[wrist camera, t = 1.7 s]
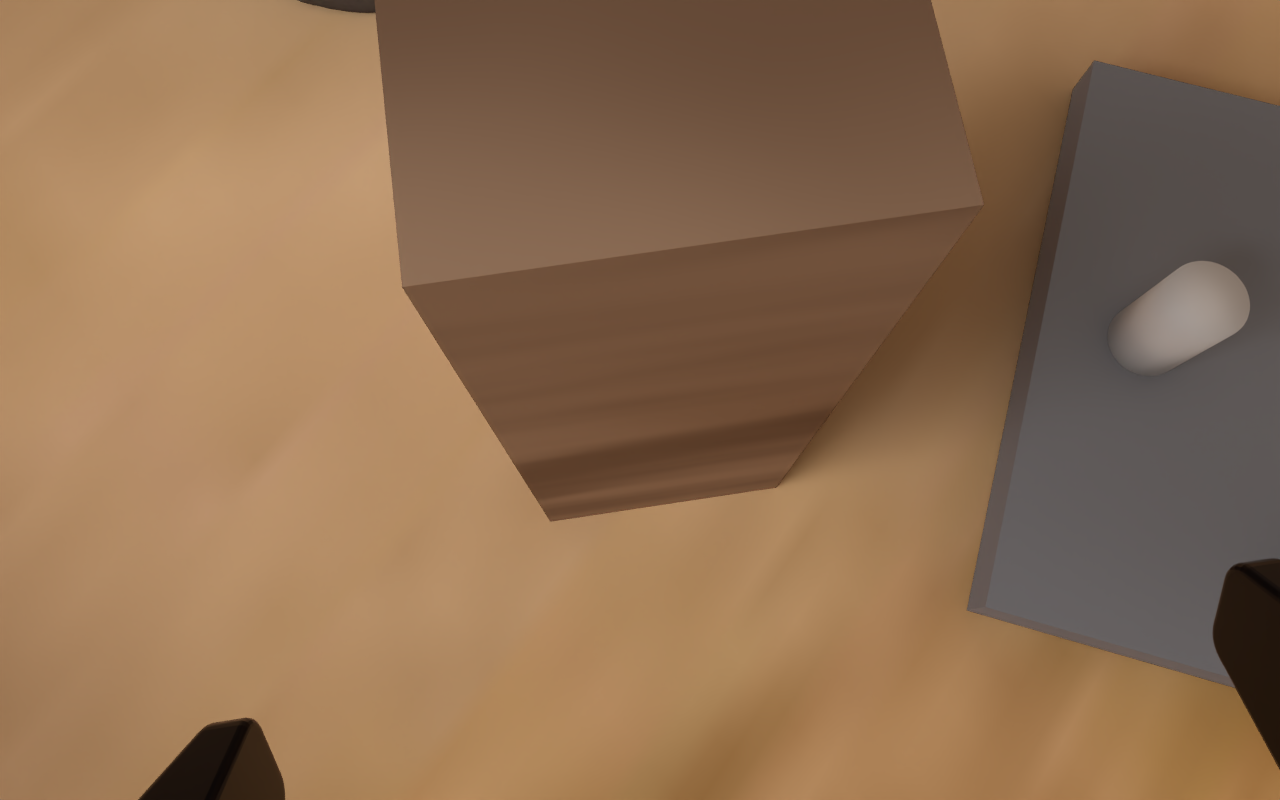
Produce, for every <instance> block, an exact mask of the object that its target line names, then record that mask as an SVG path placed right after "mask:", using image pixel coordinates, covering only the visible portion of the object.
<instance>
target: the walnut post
mask: <svg viewBox="0 0 1280 800" xmlns="http://www.w3.org/2000/svg"><path fill="white" fill-rule="evenodd" d="M375 10H376V21H377V31H378V42H379V52H380V62H381V73H382V83H383V93H384V104H385V114H386V124H387V135H388V145H389V155H390V166H391V176H392V186H393V197H394V207H395V218H396V228H397V238H398V249H399V259H400V269H401V280H402V288H403V289H404V291H405V292H406V294H407V296H408V297H409V299H410V300H411V302H412V303H413V305H414V307H415V308H416V310H417V311H418V313H419V314H420V316H421V318H422V319H423V321H424V322H425V324H426V326H427V327H428V329H429V330H430V332H431V333H432V335H433V337H434V338H435V340H436V341H437V343H438V345H439V346H440V348H441V349H442V351H443V352H444V354H445V356H446V357H447V359H448V360H449V362H450V364H451V365H452V367H453V368H454V370H455V371H456V373H457V375H458V376H459V378H460V379H461V381H462V382H463V384H464V386H465V387H466V389H467V390H468V392H469V394H470V395H471V397H472V398H473V400H474V401H475V403H476V405H477V406H478V408H479V409H480V411H481V413H482V414H483V416H484V417H485V419H486V420H487V422H488V424H489V425H490V427H491V428H492V430H493V432H494V433H495V435H496V436H497V438H498V439H499V441H500V443H501V444H502V446H503V447H504V449H505V450H506V452H507V454H508V455H509V457H510V458H511V460H512V462H513V463H514V465H515V466H516V468H517V469H518V471H519V473H520V474H521V476H522V477H523V479H524V481H525V482H526V484H527V485H528V487H529V488H530V490H531V492H532V493H533V495H534V496H535V498H536V500H537V501H538V503H539V504H540V506H541V507H542V509H543V511H544V512H545V514H546V515H547V517H548V518H549V520H550V521H557V520H564V519H570V518H577V517H583V516H590V515H597V514H603V513H610V512H617V511H623V510H630V509H636V508H643V507H650V506H656V505H663V504H670V503H676V502H683V501H690V500H696V499H703V498H709V497H716V496H723V495H729V494H736V493H743V492H749V491H756V490H763V489H769V488H776V487H777V485H778V484H779V483H780V481H781V480H782V479H783V477H784V476H785V475H786V473H787V472H788V471H789V469H790V468H791V466H792V465H793V464H794V462H795V461H796V460H797V458H798V457H799V456H800V454H801V453H802V452H803V450H804V449H805V447H806V446H807V445H808V443H809V442H810V441H811V439H812V438H813V437H814V435H815V434H816V432H817V431H818V430H819V428H820V427H821V426H822V424H823V423H824V422H825V420H826V419H827V418H828V416H829V415H830V413H831V412H832V411H833V409H834V408H835V407H836V405H837V404H838V403H839V401H840V400H841V399H842V397H843V396H844V394H845V393H846V392H847V390H848V389H849V388H850V386H851V385H852V384H853V382H854V381H855V379H856V378H857V377H858V375H859V374H860V373H861V371H862V370H863V369H864V367H865V366H866V365H867V363H868V362H869V360H870V359H871V358H872V356H873V355H874V354H875V352H876V351H877V350H878V348H879V347H880V346H881V344H882V343H883V341H884V340H885V339H886V337H887V336H888V335H889V333H890V332H891V331H892V329H893V328H894V326H895V325H896V324H897V322H898V321H899V320H900V318H901V317H902V316H903V314H904V313H905V312H906V310H907V309H908V307H909V306H910V305H911V303H912V302H913V301H914V299H915V298H916V297H917V295H918V294H919V292H920V291H921V290H922V288H923V287H924V286H925V284H926V283H927V282H928V280H929V279H930V278H931V276H932V275H933V273H934V272H935V271H936V269H937V268H938V267H939V265H940V264H941V263H942V261H943V260H944V259H945V257H946V256H947V254H948V253H949V252H950V250H951V249H952V248H953V246H954V245H955V244H956V242H957V241H958V239H959V238H960V237H961V235H962V234H963V233H964V231H965V230H966V229H967V227H968V226H969V225H970V223H971V222H972V220H973V219H974V218H975V216H976V215H977V214H978V212H979V211H980V210H981V208H982V207H983V206H984V203H983V199H982V195H981V191H980V187H979V183H978V180H977V176H976V172H975V168H974V164H973V160H972V157H971V153H970V149H969V145H968V141H967V137H966V134H965V130H964V126H963V122H962V118H961V114H960V111H959V107H958V103H957V99H956V95H955V91H954V87H953V84H952V80H951V76H950V72H949V68H948V64H947V61H946V57H945V53H944V49H943V45H942V41H941V38H940V34H939V30H938V26H937V22H936V18H935V15H934V11H933V7H932V3H931V0H375Z"/></svg>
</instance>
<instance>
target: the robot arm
mask: <svg viewBox="0 0 1280 800" xmlns="http://www.w3.org/2000/svg"><path fill="white" fill-rule="evenodd" d="M1213 642H1214V646H1215V649H1216V652H1217V654H1218V656H1219V659H1220V660H1221V662H1222V664H1223V666H1224V668H1225V670H1226V671H1227V673H1228V675H1229V677H1230V679H1231V681H1232V683H1233V684H1234V686H1235V688H1236V690H1237V692H1238V694H1239V695H1240V697H1241V699H1242V701H1243V703H1244V705H1245V707H1246V708H1247V710H1248V712H1249V714H1250V716H1251V718H1252V719H1253V721H1254V723H1255V725H1256V727H1257V729H1258V731H1259V732H1260V734H1261V736H1262V738H1263V740H1264V742H1265V743H1266V745H1267V747H1268V749H1269V751H1270V753H1271V755H1272V756H1273V758H1274V760H1275V762H1276V764H1277V766H1278V767H1279V769H1280V559H1277V558H1268V559H1261V560H1255V561H1248V562H1242V563H1237V564H1235V565H1233V566H1232V567H1231V568H1230V569H1229V570H1228V571H1227V573H1226V575H1225V579H1224V583H1223V587H1222V591H1221V595H1220V599H1219V603H1218V607H1217V611H1216V615H1215V619H1214V624H1213ZM138 800H285V789H284V783H283V778H282V776H281V773H280V771H279V768H278V766H277V764H276V761H275V759H274V757H273V754H272V752H271V750H270V747H269V745H268V743H267V740H266V738H265V736H264V733H263V731H262V729H261V727H260V726H259V724H258V723H257V722H256V721H255V720H254V719H252V718H241V719H235V720H229V721H222V722H216V723H212V724H209V725H207V726H206V727H204V728H203V729H202V730H201V731H200V732H199V733H198V734H197V735H196V736H195V737H194V738H193V739H192V740H191V742H190V743H189V744H188V745H187V746H186V747H185V748H184V749H183V750H182V752H181V753H180V754H179V755H178V756H177V757H176V758H175V759H174V760H173V762H172V763H171V764H170V765H169V766H168V767H167V768H166V769H165V770H164V772H163V773H162V774H161V775H160V776H159V777H158V778H157V779H156V780H155V782H154V783H153V784H152V785H151V786H150V787H149V788H148V789H147V790H146V792H145V793H144V794H143V795H142V796H141V797H140V798H139V799H138Z"/></svg>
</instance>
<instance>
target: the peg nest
mask: <svg viewBox="0 0 1280 800" xmlns="http://www.w3.org/2000/svg"><path fill="white" fill-rule="evenodd" d="M1268 558H1277V559H1280V106H1277V105H1273V104H1269V103H1265V102H1261V101H1257V100H1253V99H1249V98H1245V97H1241V96H1237V95H1233V94H1229V93H1224V92H1220V91H1216V90H1212V89H1208V88H1204V87H1200V86H1196V85H1192V84H1188V83H1184V82H1180V81H1176V80H1172V79H1167V78H1163V77H1159V76H1155V75H1151V74H1147V73H1143V72H1139V71H1135V70H1131V69H1127V68H1123V67H1119V66H1115V65H1110V64H1106V63H1102V62H1098V61H1094V62H1093V63H1092V64H1091V66H1090V67H1089V68H1088V70H1087V71H1086V72H1085V74H1084V75H1083V76H1082V78H1081V79H1080V80H1079V82H1078V83H1077V84H1076V86H1075V87H1074V88H1073V92H1072V96H1071V101H1070V106H1069V111H1068V116H1067V121H1066V126H1065V131H1064V136H1063V141H1062V146H1061V151H1060V155H1059V160H1058V165H1057V170H1056V175H1055V180H1054V185H1053V190H1052V195H1051V200H1050V205H1049V209H1048V214H1047V219H1046V224H1045V229H1044V234H1043V239H1042V244H1041V249H1040V254H1039V259H1038V263H1037V268H1036V273H1035V278H1034V283H1033V288H1032V293H1031V298H1030V303H1029V308H1028V313H1027V318H1026V322H1025V327H1024V332H1023V337H1022V342H1021V347H1020V352H1019V357H1018V362H1017V367H1016V372H1015V376H1014V381H1013V386H1012V391H1011V396H1010V401H1009V406H1008V411H1007V416H1006V421H1005V426H1004V430H1003V435H1002V440H1001V445H1000V450H999V455H998V460H997V465H996V470H995V475H994V480H993V484H992V489H991V494H990V499H989V504H988V509H987V514H986V519H985V524H984V529H983V534H982V539H981V543H980V548H979V553H978V558H977V563H976V568H975V573H974V578H973V583H972V588H971V593H970V597H969V602H968V607H967V610H968V611H971V612H975V613H978V614H981V615H985V616H988V617H992V618H995V619H999V620H1002V621H1006V622H1009V623H1013V624H1016V625H1019V626H1023V627H1026V628H1030V629H1033V630H1037V631H1040V632H1044V633H1047V634H1051V635H1054V636H1058V637H1061V638H1064V639H1068V640H1071V641H1075V642H1078V643H1082V644H1085V645H1089V646H1092V647H1096V648H1099V649H1103V650H1106V651H1109V652H1113V653H1116V654H1120V655H1123V656H1127V657H1130V658H1134V659H1137V660H1141V661H1144V662H1148V663H1151V664H1154V665H1158V666H1161V667H1165V668H1168V669H1172V670H1175V671H1179V672H1182V673H1186V674H1189V675H1192V676H1196V677H1199V678H1203V679H1206V680H1210V681H1213V682H1217V683H1220V684H1224V685H1227V686H1231V687H1234V688H1235V686H1234V684H1233V683H1232V681H1231V679H1230V677H1229V675H1228V673H1227V671H1226V670H1225V668H1224V666H1223V664H1222V662H1221V660H1220V659H1219V656H1218V654H1217V652H1216V649H1215V646H1214V642H1213V624H1214V619H1215V615H1216V611H1217V607H1218V603H1219V599H1220V595H1221V591H1222V587H1223V583H1224V579H1225V575H1226V573H1227V571H1228V570H1229V569H1230V568H1231V567H1232V566H1233V565H1235V564H1237V563H1242V562H1248V561H1255V560H1261V559H1268Z"/></svg>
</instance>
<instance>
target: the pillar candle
mask: <svg viewBox="0 0 1280 800" xmlns="http://www.w3.org/2000/svg"><path fill="white" fill-rule="evenodd" d="M299 1H301V2H304V3H308V4H312V5H317V6H321V7H325V8H329V9H336V10H342V11H348V12H362V13H373V12H376V10H375V0H299Z"/></svg>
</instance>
